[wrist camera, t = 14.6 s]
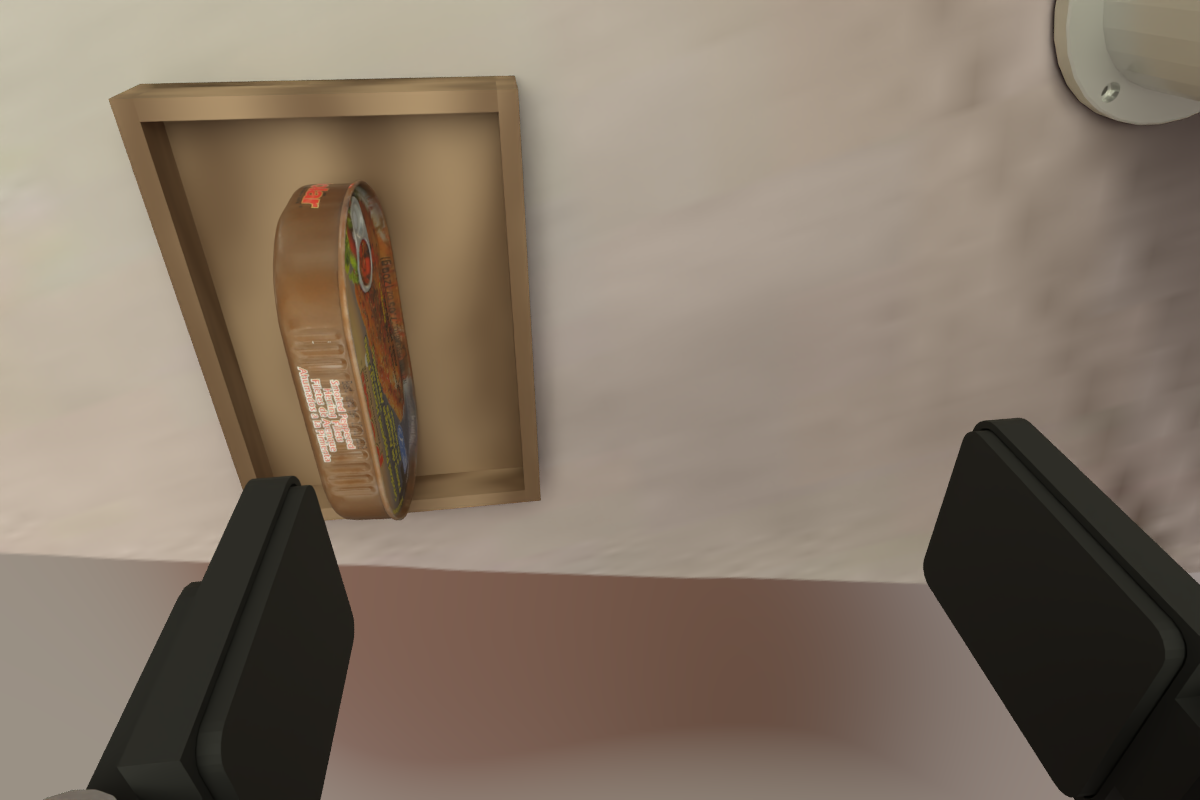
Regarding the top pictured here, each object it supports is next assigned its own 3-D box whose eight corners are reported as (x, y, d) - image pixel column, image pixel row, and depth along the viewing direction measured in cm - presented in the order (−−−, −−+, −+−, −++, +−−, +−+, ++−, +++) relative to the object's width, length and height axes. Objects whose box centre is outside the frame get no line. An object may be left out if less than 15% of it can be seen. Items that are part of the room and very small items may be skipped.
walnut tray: (514, 75, 30) (517, 89, 28) (536, 466, 42) (540, 500, 39) (140, 83, 29) (108, 99, 26) (269, 489, 40) (255, 526, 37)
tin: (424, 445, 38) (413, 560, 31) (362, 450, 38) (337, 568, 31) (378, 154, 30) (349, 223, 23) (299, 156, 30) (245, 227, 23)
